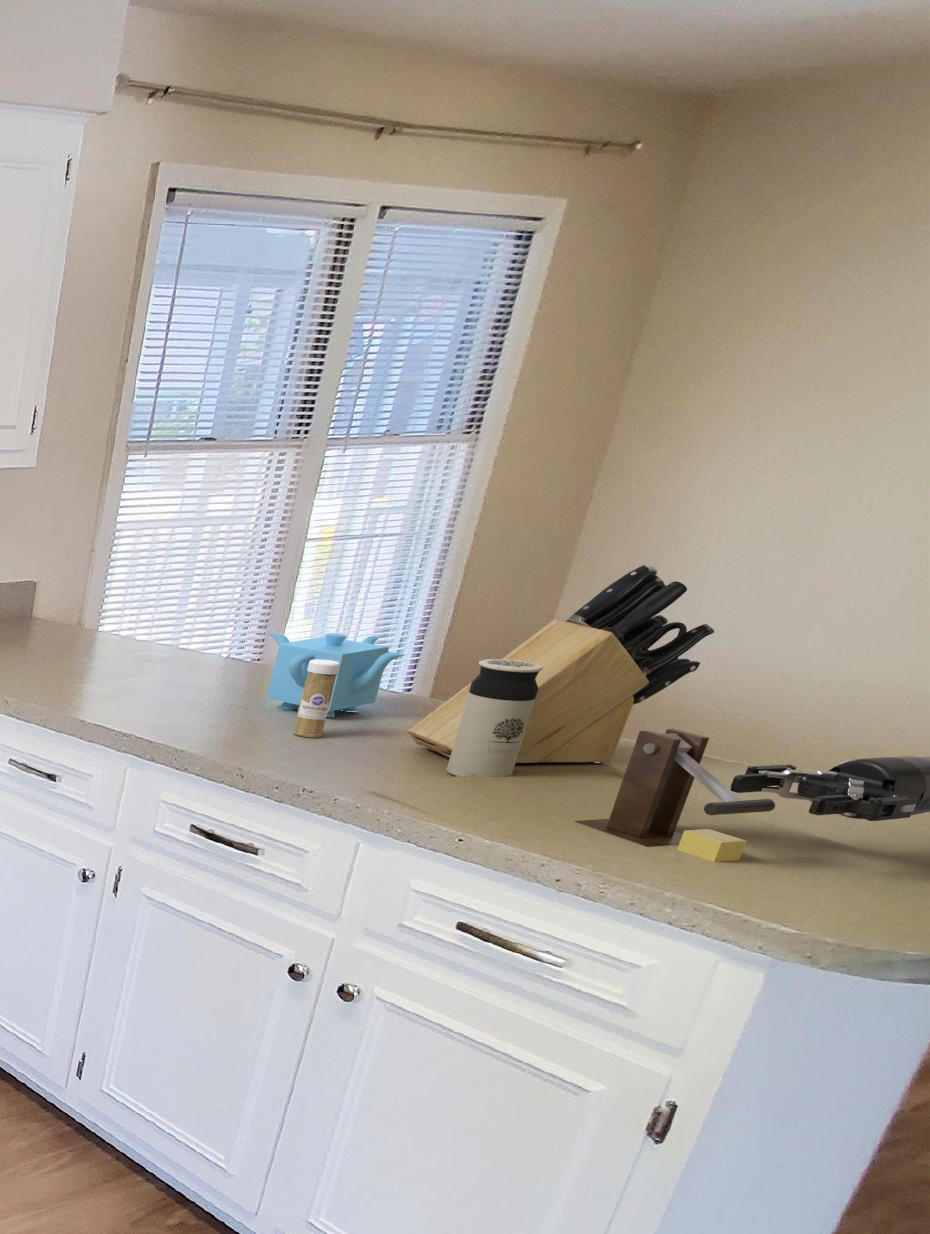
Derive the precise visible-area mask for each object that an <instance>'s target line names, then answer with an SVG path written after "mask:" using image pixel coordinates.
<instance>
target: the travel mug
mask: <svg viewBox="0 0 930 1234" xmlns="http://www.w3.org/2000/svg"><path fill="white" fill-rule="evenodd" d="M478 664H479V668H480V669H479V674H478V675H477V676H476V677H475V678H474V679H473V680H471V682H470V683H471V686H470V689H469V693H468V696H467V700H466V703H465V707H464V710H463V714H462V717H461V721H460V724H459V728H458V731H457V735H456V738H455V742H454V745H453V749H452V752H451V756H450V758H449V760H448V763H447V767H446V771H447V772H448V773H449V774H450V775H452V776H454V777H470V776H484V777H493V778H494V777H498V778H499V777H500V778H501V777H510V776H511V775H512V774H513V772H514V769H515V766H516V764H517V763H516V760H517V756H518V753H519V750H520V747H521V743H522V740H523V737H524V734H525V731H526V727H527V724H528V721H529V718H530V714H531V711H532V708H533V705H534V701H535V698H536V695H537V692H538V686H537V683H536V680H535V679H536V677H537V675H538V673H539V671H541V670H542V669H543V668H542V666H540V665H538V664H534V663H530V662H524V661H517V660H505V659H503V658H489V659H482V660H479V662H478Z"/></svg>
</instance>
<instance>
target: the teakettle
mask: <svg viewBox="0 0 930 1234" xmlns="http://www.w3.org/2000/svg"><path fill="white" fill-rule="evenodd" d="M268 635H270V636H271V637H272V638H274V640H275V641H276V642H277V645H278V647H277V650H276V656H275V660H274V664H273V668H272V669H273V670H272V674H271V678H270V683H269V688H268V692H267V697H266V698H267V699H269V700H273V701H278V702H283V703H282V704H281V705H279V706H278V708H279V709H283V710H287V711H288V710H290V711H294V710H295V711H296V710H298V709H299V704H300V700H301V696H302V692H303V688H304V686H305V682H306V678H307V672H308V671H307V668H308V664H309V661H310V660H315V659H323V660H332V661H336V662H339V663H340V667H339V672H338V674H337V676H336V679H335V683H334V687H333V693H332V697H331V701H330V705H329V709H328V713H327V717H333V716H335V717H336V715H335V714H336V713H335V711H338V710H339V711H340V710H343V711H358V709H357V707H360V706H364V705H369V704H374V703H376V701H377V697H378V692H379V689H380V685H381V681H382V678H383V673H384V671H385V669H386V668H387V666H388V665H389V664H390V663H391V661H393V660H395V659H397V658H401V657H405V656H406V654H405V653H400V652H399V653H398V652H389V649H390V647H389V646H387V645H380V644H375V643H376V642H377V640H379V639H380V636H378V635H372V636H368V637H365V638H364V639H363V640H362V641H356V640H348V639H347V637H348V636H347V635H346V634H343V633H337V632H333V633H332V632H329V633H325V634H324V636H319V637H314V638H313V637H312V638H307V639H301V640H294V641H290V640H289V638H288V637H287V636H286V635H284V634H280V633H275V632H269V633H268Z"/></svg>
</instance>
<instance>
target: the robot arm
mask: <svg viewBox="0 0 930 1234" xmlns="http://www.w3.org/2000/svg"><path fill="white" fill-rule="evenodd" d="M793 783H795V784H797V792H794V791H791V788H792V785H793ZM730 791H731V792H733V793H736V794H745V793H761V792H763V793H773V794H774V793H775V794H776V795H778V796H779V797H780V798H784V799H793V800H803V801H805V800H806V801H809V802H810V803H811V804H810V806H809V808H808V809H809V810H808V813H809V814H811V815H815V816H829V815H840V816H842V817H846V818H849V819H855V820H867V821H868V822H882V821H890V820H899V819H900V820H901V819H908V818H911V817H912V816H916V815H921V814H925V813H930V756H912V755H900V756H899V755H898V756H884V757H883V756H882V757H871V758H869V757H868V758H855V759H850V760H846V761H843V762H840V763H839V764H836V765H834V767H832V768H830V769H829V770H821V769H820V770H817V771H811V770H802V769H801V770H799V769H797V766H795V765H792V764H773V765H772V764H771V765H750V766H747V768H746V770H745V773H744V774H738V775H735V776H734V777H733V779H732V782H731V784H730Z"/></svg>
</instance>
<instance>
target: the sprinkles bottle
mask: <svg viewBox="0 0 930 1234" xmlns="http://www.w3.org/2000/svg"><path fill="white" fill-rule="evenodd" d="M339 667H340V663H339V662H336V661H332V660H323V659H315V660H310V661H309V664H308V668H307V671H308V672H307V678H306V682H305V686H304V688H303V692H302V696H301V700H300V704H299V706H298V708H297V714H296V715H297V716H296V721H295V725H294V729H293V730H292V734H293V735H295V736H298V737H302V738H311V739H317V738H321V737H323V735H324V727H325V724H326V719H327V718H326V717H327V713H328V709H329V705H330V701H331V697H332V693H333V687H334V683H335V679H336V676H337V674H338V672H339Z"/></svg>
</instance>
